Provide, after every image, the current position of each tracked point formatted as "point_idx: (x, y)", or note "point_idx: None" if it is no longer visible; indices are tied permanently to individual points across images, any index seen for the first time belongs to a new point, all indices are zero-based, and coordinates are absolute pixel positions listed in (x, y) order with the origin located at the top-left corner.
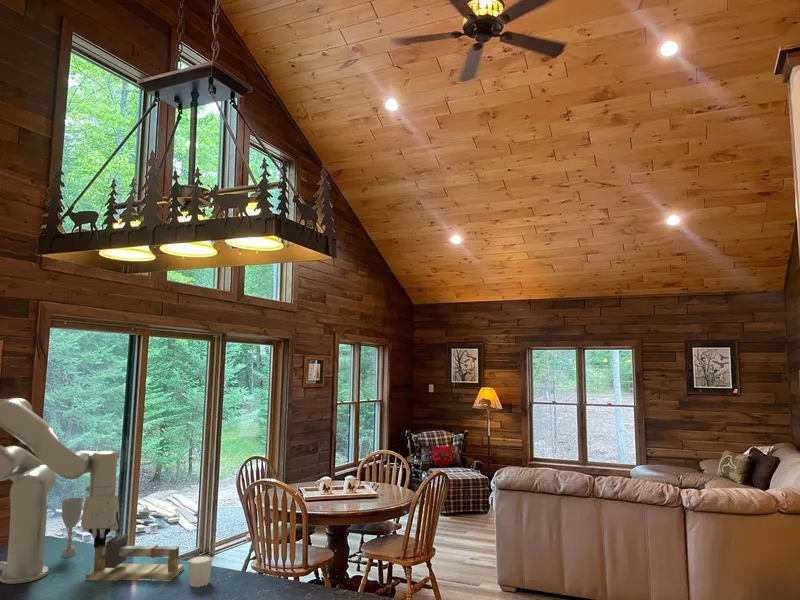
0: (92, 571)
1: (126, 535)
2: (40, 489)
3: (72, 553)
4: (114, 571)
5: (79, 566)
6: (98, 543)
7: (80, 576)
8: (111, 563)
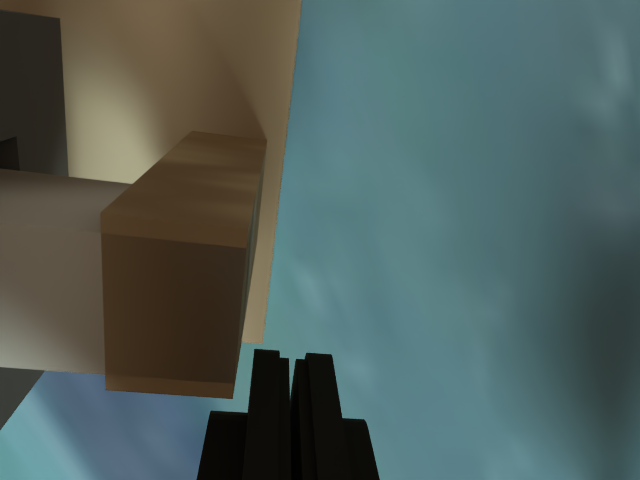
0: (271, 117)
1: None
2: None
3: None
4: None
5: (477, 364)
6: (272, 428)
7: (391, 126)
8: None
